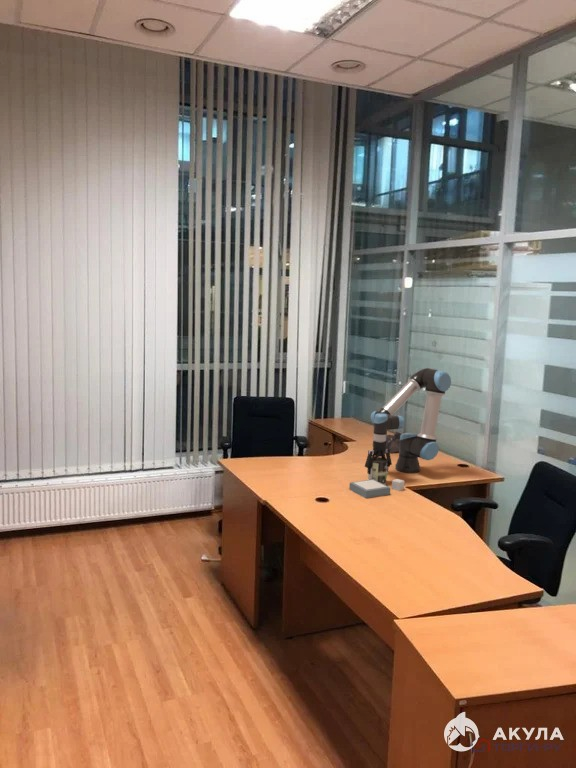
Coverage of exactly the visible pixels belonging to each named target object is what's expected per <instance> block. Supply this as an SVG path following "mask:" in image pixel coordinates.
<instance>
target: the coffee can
mask: <svg viewBox="0 0 576 768" xmlns="http://www.w3.org/2000/svg"><path fill="white" fill-rule="evenodd" d="M387 461H388V460H387V458H386V459H382V457H377V459H376V460H375V461H373V460H371V462H373V466H372V479H374V480H376V481H378V482H380V483H382V484H384V485H387V478H386V476H387V477H388V472H387ZM368 480H370V479H368Z"/></svg>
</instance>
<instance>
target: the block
mask: <svg viewBox="0 0 576 768" xmlns="http://www.w3.org/2000/svg"><path fill="white" fill-rule="evenodd" d="M391 490H394V491H397V492H401V491H404V490H405V480H404V479H399V478H396V479H395V478H394V479H393V480H391Z"/></svg>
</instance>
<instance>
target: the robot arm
mask: <svg viewBox="0 0 576 768" xmlns="http://www.w3.org/2000/svg"><path fill="white" fill-rule="evenodd" d="M451 386H452V378H451V375H449V373H448V372H446V371H445V370H441V369H440V370H439V369H435V368H428V367H427V368H425V367H424V368H422V369H420V370H418V371H417V372H415V373H413V375H411V376H410V377H409V378H407V383H405V384H404V385H403V386H402V387H401V389H399V390H398V392H397V393H395V394H394V395H393V396H392V397H391V398H390V399H389V400H388V401H387V402H386V403H385V404H384V405H383V406H382V407H381V408H380V409H379V410H374V411H373V412H371V414H370V420H371V422H372V423H373V433H372V434H373V438H372V450H368V451H367V453H368V454H367V456H366V461H365V464H364V467H365V468H367V470H366V471H367V474H368V475H367V480H369V479H370V480H371V479H372V466H373V462H371V460H373V461H375V460H376V459H377V457H382V459H387V460H388V461H387V473H388V472H389V468H390V467H391V466H392V458H391V453H390V449H387V448H386V439H387V435H388V434H387V433H388V431H390V430H400V429H403V428H405V427H404V426H405V418H404V416H402V415H394V414H395V413H396V412H397V411H398V410H399V409H400V408H401V407H402V406H404V404H405V403H406V402H407V401H408V400H409V399H410V398H412V396H413V395H414V394H415V393H416V392H419V391H421V390H422V389H423V388H425V389H424V390H425V392H426V400H425V405H424V409H423V415H422V421H421V425H420V431H419V433H418V432H417V433H416V432H405V433H401V436H400V444H399V451H398V458H397V460H396V463H395V466H394V467H395V470H396V471H398V472H401V473H402V472H403V473H407V474H409V473H410V474H412V473H413V474H414V473H418V472H421V471H420V470H421V466H420V461H419V459H421V460H425V461H430V460H434V459H435V458H436V456H438V454H439V450H440V449H439V448H440V447H439V444H438V443H437V437H436V436H435V434H436V429H437V423H438V419H439V413H440V408H441V403H442V397H443V396H444V395H445V394H446V392H447V391H448V390H449V389H450V388H451ZM385 448H386V449H385ZM387 478H388V475H387V476H386V479H387Z"/></svg>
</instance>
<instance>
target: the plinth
mask: <svg viewBox="0 0 576 768" xmlns="http://www.w3.org/2000/svg"><path fill="white" fill-rule="evenodd" d="M348 490H350V491H352V492H354V493H355V494H357V495H358V496H360V497H363V498H364V499H371V498H377V496H378V497H383V495H384V496H388V495H389V496H390V495H391V486H388V485H387V484H385V485H384V484H382V483H380V482H378V481H376V480H374V479H371V480H369V479H366V480H359V481H358V480H357V481H350V482H349V488H348Z"/></svg>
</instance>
